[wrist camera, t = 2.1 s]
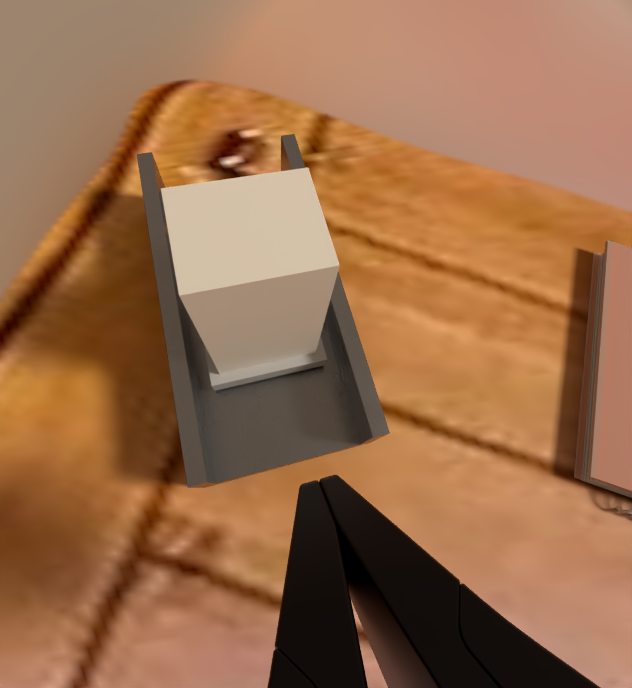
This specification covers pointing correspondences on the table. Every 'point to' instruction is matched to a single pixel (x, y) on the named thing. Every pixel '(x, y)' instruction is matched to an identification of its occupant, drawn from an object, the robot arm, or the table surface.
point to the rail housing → (264, 395)
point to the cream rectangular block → (253, 272)
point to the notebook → (607, 376)
